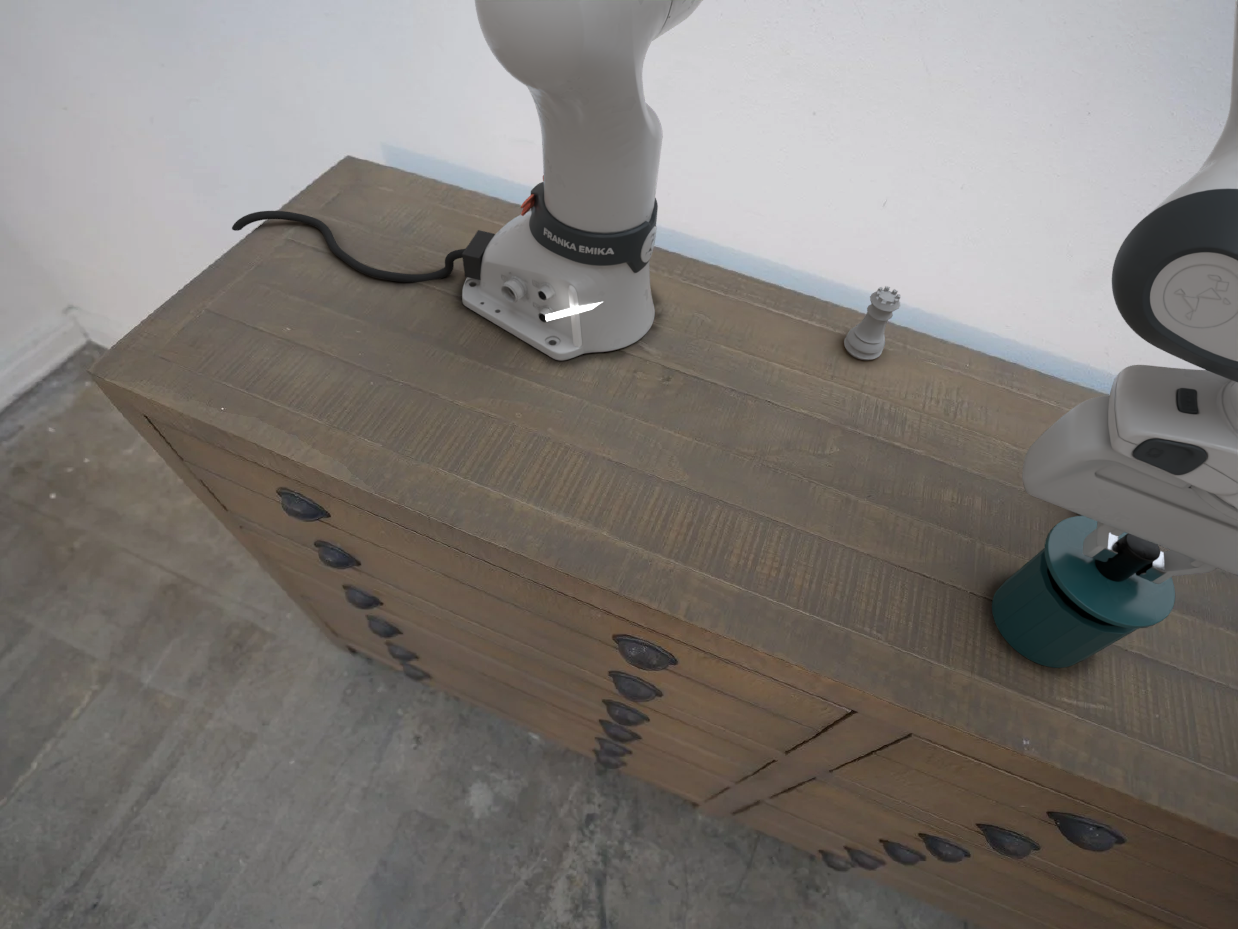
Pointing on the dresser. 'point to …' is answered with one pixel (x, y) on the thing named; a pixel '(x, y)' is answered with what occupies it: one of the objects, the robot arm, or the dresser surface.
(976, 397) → the dresser surface
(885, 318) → the rook chess piece
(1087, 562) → the pot lid
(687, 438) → the dresser surface
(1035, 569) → the pot
